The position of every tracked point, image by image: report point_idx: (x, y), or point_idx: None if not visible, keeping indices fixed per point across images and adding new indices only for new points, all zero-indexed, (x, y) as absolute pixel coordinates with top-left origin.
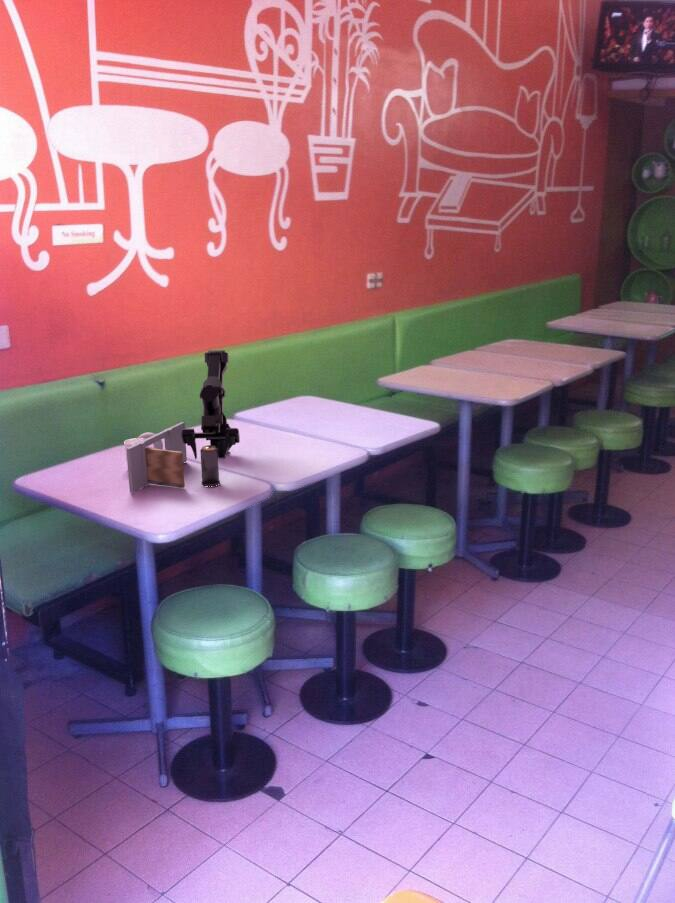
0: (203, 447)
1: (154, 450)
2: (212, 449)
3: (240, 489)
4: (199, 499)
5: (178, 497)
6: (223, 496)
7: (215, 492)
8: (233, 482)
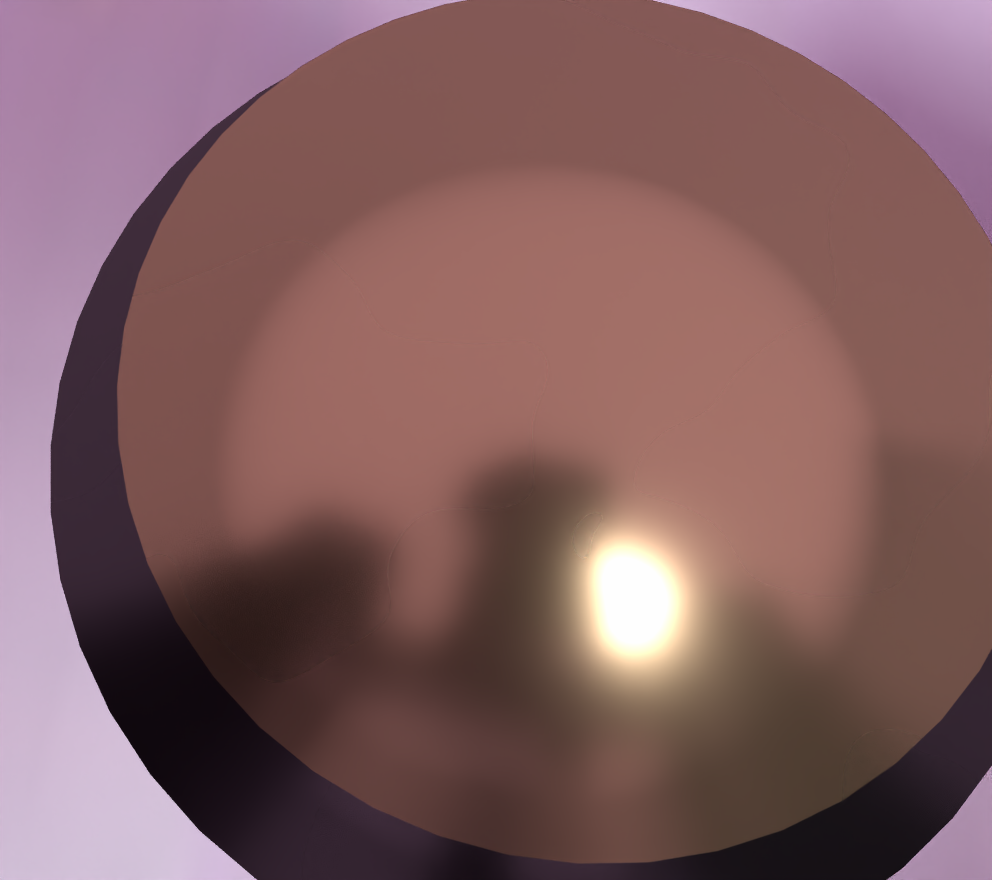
0: (954, 404)
1: None
2: (403, 45)
3: (23, 271)
4: None
5: (989, 166)
6: None
7: None
8: (44, 662)
